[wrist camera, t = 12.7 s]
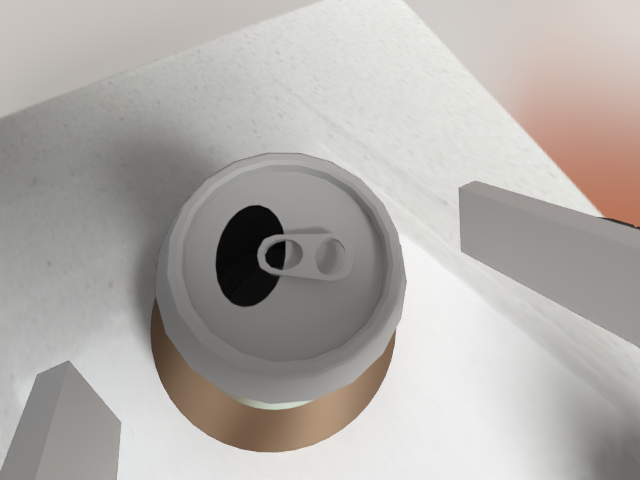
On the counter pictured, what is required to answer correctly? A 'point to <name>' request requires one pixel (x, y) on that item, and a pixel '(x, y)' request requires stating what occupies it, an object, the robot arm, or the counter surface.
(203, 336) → the can
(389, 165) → the counter surface
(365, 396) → the pedestal
